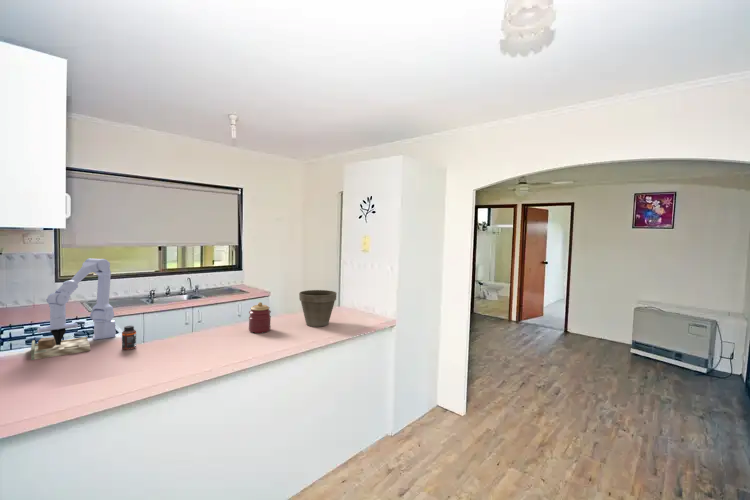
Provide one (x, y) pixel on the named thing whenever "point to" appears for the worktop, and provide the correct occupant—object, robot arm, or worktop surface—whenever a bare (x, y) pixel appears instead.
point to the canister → (259, 318)
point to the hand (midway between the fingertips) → (58, 344)
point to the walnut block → (46, 343)
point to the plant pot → (317, 306)
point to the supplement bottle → (128, 338)
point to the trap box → (61, 348)
